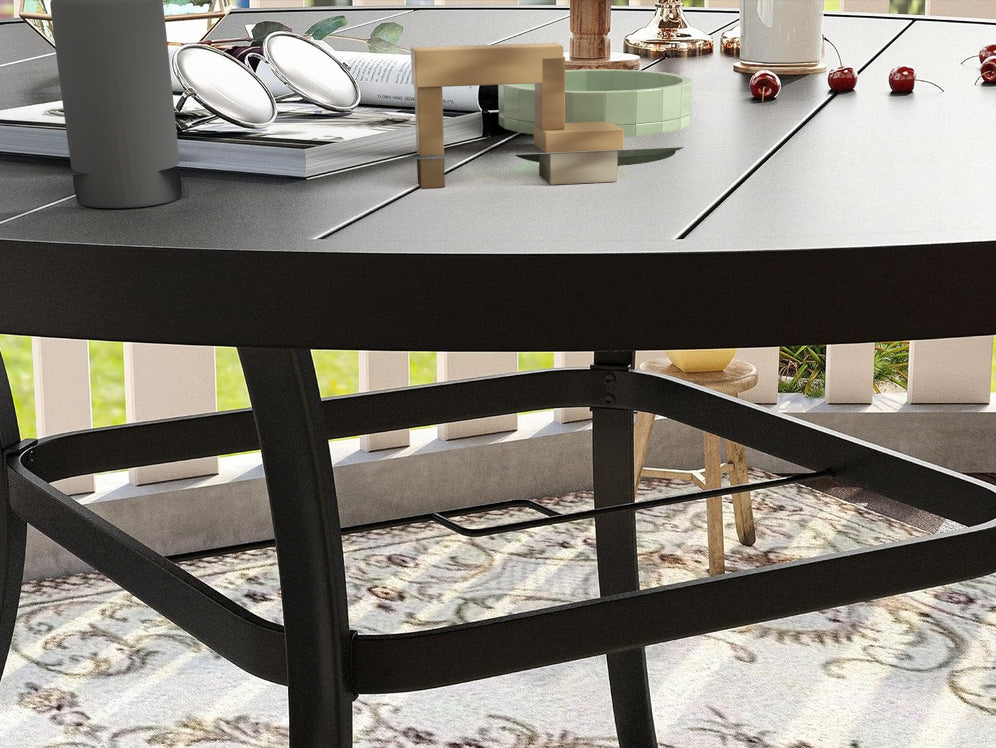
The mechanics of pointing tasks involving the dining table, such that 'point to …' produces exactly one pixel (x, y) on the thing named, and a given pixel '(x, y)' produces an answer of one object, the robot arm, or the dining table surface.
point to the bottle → (117, 101)
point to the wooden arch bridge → (550, 128)
